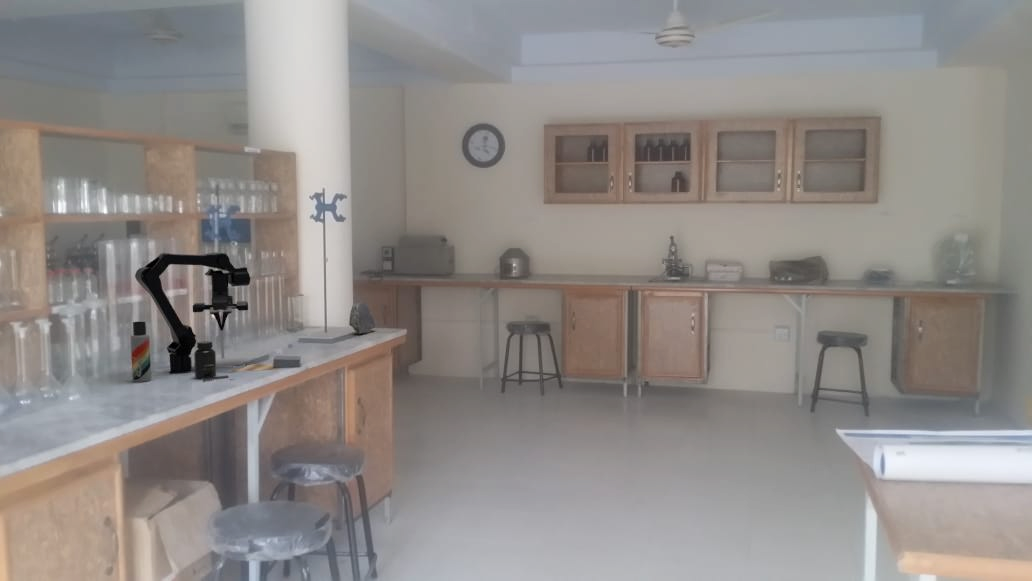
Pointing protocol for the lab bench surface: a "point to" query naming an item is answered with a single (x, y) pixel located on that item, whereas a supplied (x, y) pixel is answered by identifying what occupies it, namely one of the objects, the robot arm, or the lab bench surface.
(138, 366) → the lotion bottle
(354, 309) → the decorative rock
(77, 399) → the lab bench surface
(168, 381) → the lab bench surface
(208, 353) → the supplement bottle
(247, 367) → the cork mat
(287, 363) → the thick grey slab block
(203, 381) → the metal turner
